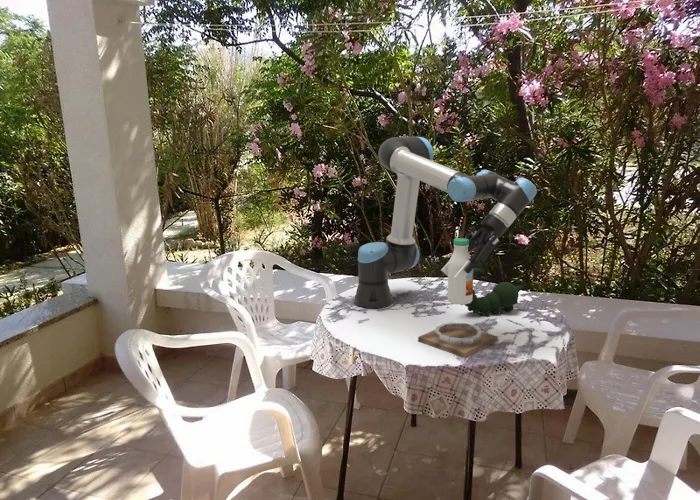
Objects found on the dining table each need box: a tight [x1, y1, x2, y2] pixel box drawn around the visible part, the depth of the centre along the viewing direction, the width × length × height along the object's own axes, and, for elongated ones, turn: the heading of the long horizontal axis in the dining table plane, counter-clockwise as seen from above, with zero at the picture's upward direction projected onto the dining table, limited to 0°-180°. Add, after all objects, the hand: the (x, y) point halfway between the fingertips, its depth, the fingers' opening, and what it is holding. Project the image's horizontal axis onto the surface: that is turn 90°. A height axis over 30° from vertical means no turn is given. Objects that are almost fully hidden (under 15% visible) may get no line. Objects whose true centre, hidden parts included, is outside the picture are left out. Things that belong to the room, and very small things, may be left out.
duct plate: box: [417, 329, 499, 358], centre depth 168 cm, size 18×18×2 cm
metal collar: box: [434, 322, 483, 346], centre depth 168 cm, size 14×14×2 cm
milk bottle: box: [447, 237, 474, 305], centre depth 163 cm, size 8×8×20 cm
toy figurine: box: [462, 267, 524, 317], centre depth 192 cm, size 9×19×25 cm
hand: (450, 276), depth 162 cm, fingers closed on milk bottle, 8 cm apart
